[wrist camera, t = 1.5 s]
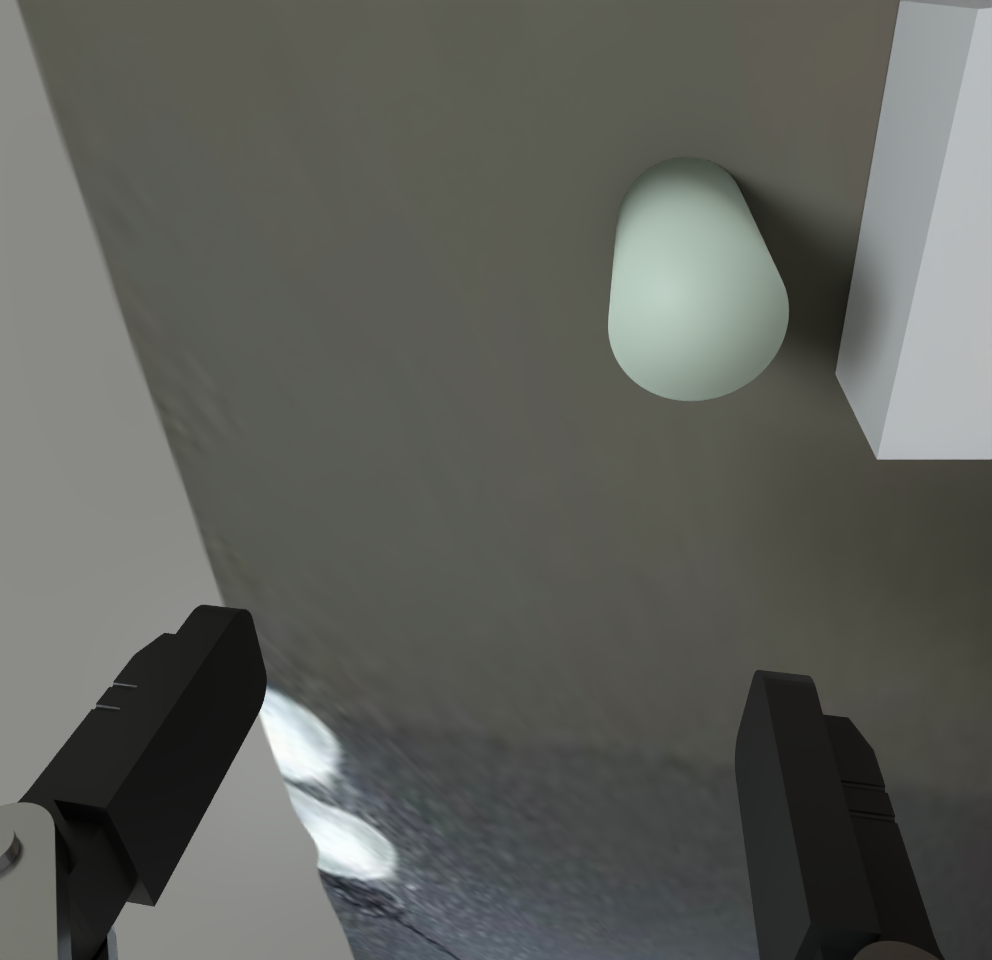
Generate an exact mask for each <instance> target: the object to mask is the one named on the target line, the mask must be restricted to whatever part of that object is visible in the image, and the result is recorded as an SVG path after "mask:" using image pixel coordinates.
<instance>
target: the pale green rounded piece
mask: <svg viewBox="0 0 992 960" xmlns="http://www.w3.org/2000/svg"><path fill="white" fill-rule="evenodd" d="M788 320H789V304H788V297H787V293H786V289H785V286H784V284H783V281H782V279H781V277H780V275H779V272H778V270H777V268H776V266H775V264H774V262H773V260H772V257H771V255H770V253H769V251H768V249H767V247H766V244H765V242H764V240H763V238H762V236H761V234H760V232H759V229H758V227H757V225H756V223H755V221H754V219H753V217H752V214H751V212H750V210H749V208H748V206H747V204H746V202H745V199H744V197H743V195H742V193H741V191H740V189H739V187H738V185H737V183H736V182H735V180H734V179H733V178H732V177H731V175H730V174H729V173H728V172H726V171H725V170H724V169H723V168H722V167H720V166H718V165H717V164H715V163H713V162H711V161H708V160H705V159H701V158H696V157H678V158H673V159H669V160H665V161H663V162H661V163H658V164H656V165H654V166H653V167H651V168H649V169H648V170H646V171H645V172H644V173H643V174H641V175H640V176H639V177H638V178H637V179H636V180H635V181H634V182H633V184H632V185H631V186H630V187H629V189H628V191H627V192H626V194H625V196H624V198H623V200H622V202H621V205H620V208H619V212H618V217H617V226H616V237H615V249H614V261H613V272H612V284H611V295H610V307H609V320H608V331H609V339H610V344H611V348H612V350H613V353H614V355H615V358H616V359H617V361H618V363H619V365H620V366H621V367H622V369H623V370H624V371H625V373H626V374H627V375H628V376H629V377H630V378H631V379H632V380H633V381H634V382H636V383H637V384H638V385H640V386H641V387H643V388H644V389H646V390H648V391H650V392H652V393H654V394H657V395H659V396H662V397H665V398H669V399H674V400H681V401H700V400H707V399H713V398H717V397H720V396H723V395H726V394H729V393H731V392H733V391H736V390H737V389H739V388H741V387H743V386H745V385H746V384H748V383H749V382H750V381H752V380H753V379H755V378H756V377H757V376H758V375H759V374H760V373H761V372H762V371H764V369H765V368H766V367H767V366H768V365H769V364H770V362H771V361H772V360H773V358H774V357H775V355H776V354H777V352H778V350H779V348H780V346H781V344H782V342H783V340H784V337H785V334H786V330H787V325H788Z"/></svg>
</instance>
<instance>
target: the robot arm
mask: <svg viewBox="0 0 992 960" xmlns="http://www.w3.org/2000/svg"><path fill="white" fill-rule="evenodd" d="M266 685H267V676H266V670H265V666H264V662H263V658H262V654H261V650H260V646H259V642H258V638H257V634H256V630H255V626H254V622H253V618H252V616H251V614H250V612H249V611H248V610H246V609H237V608H228V607H219V606H210V605H200V606H198V607H197V608H195V609H194V610H193V612H192V613H191V614H190V616H189V617H188V618H187V619H186V621H185V623H184V624H183V625H182V626H181V628H180V629H179V630H178V632H177V633H176V634H169V633H164V634H162V635H161V636H159V637H158V638H157V639H155V640H154V641H153V642H151V643H150V644H149V645H147V646H146V647H144V648H143V649H142V650H140V651H139V652H137V653H136V654H135V655H134V656H133V657H132V658H131V660H130V661H129V662H128V664H127V665H126V666H125V668H124V669H123V670H122V671H121V673H120V674H119V675H118V676H117V678H116V679H115V680H114V684H113V686H112V687H109V688H108V689H107V690H106V692H105V693H104V695H103V696H102V697H101V698H100V699H99V701H98V702H97V703H96V708H95V709H92V710H91V711H90V712H89V713H88V715H87V716H86V718H85V719H84V720H83V721H82V723H81V724H80V725H79V726H78V728H77V729H76V730H75V731H74V733H73V734H72V735H71V737H70V738H69V739H68V740H67V742H66V743H65V744H64V746H63V747H62V748H61V749H60V751H59V752H58V753H57V754H56V756H55V757H54V758H53V760H52V761H51V762H50V763H49V765H48V766H47V767H46V768H45V770H44V771H43V772H42V774H41V775H40V776H39V778H38V779H37V780H36V781H35V783H34V784H33V785H32V787H31V788H30V789H29V790H28V791H27V793H26V794H25V795H24V796H23V797H22V798H21V799H20V800H19V801H18V802H17V803H12V804H7V805H3V806H0V960H118V954H117V942H116V933H115V928H114V926H113V924H114V922H115V920H116V919H117V917H118V915H119V913H120V911H121V910H122V908H123V906H124V905H125V903H126V902H132V903H137V904H143V905H149V906H155V905H156V903H157V901H158V899H159V897H160V895H161V894H162V892H163V890H164V888H165V886H166V884H167V882H168V881H169V879H170V876H171V875H172V873H173V871H174V870H175V868H176V866H177V864H178V862H179V860H180V858H181V857H182V855H183V853H184V851H185V849H186V847H187V845H188V843H189V842H190V840H191V838H192V836H193V834H194V832H195V831H196V829H197V827H198V825H199V823H200V821H201V819H202V818H203V816H204V814H205V812H206V810H207V808H208V806H209V805H210V803H211V801H212V799H213V797H214V795H215V793H216V792H217V790H218V788H219V786H220V784H221V782H222V780H223V778H224V777H225V775H226V773H227V771H228V769H229V767H230V765H231V763H232V762H233V760H234V758H235V756H236V754H237V752H238V751H239V749H240V747H241V745H242V743H243V741H244V739H245V738H246V736H247V734H248V732H249V730H250V728H251V726H252V725H253V723H254V721H255V719H256V717H257V715H258V713H259V711H260V709H261V707H262V704H263V701H264V697H265V693H266ZM735 772H736V782H737V790H738V797H739V805H740V813H741V820H742V828H743V835H744V843H745V850H746V858H747V866H748V873H749V881H750V888H751V896H752V904H753V911H754V919H755V926H756V934H757V941H758V949H759V957H760V960H945V959H944V957H943V956H942V954H941V952H940V950H939V948H938V945H937V943H936V940H935V938H934V935H933V932H932V929H931V926H930V922H929V919H928V916H927V913H926V910H925V907H924V904H923V901H922V898H921V895H920V892H919V889H918V885H917V882H916V879H915V876H914V873H913V870H912V867H911V864H910V861H909V858H908V855H907V851H906V848H905V845H904V842H903V839H902V836H901V833H900V830H899V827H898V824H897V823H895V820H894V817H895V814H894V811H893V808H892V805H891V802H890V799H889V796H888V793H885V784H884V780H883V777H882V774H881V771H880V768H879V765H878V762H877V759H876V756H875V753H874V750H873V749H872V747H871V746H870V745H869V744H868V742H867V741H866V740H865V738H864V737H863V736H862V735H861V733H860V732H859V731H858V729H857V728H856V727H855V726H854V724H853V723H852V722H851V720H850V719H849V718H847V717H838V716H830V715H823V713H822V709H821V705H820V702H819V698H818V694H817V691H816V687H815V684H814V681H813V679H812V678H811V677H810V676H806V675H798V674H789V673H780V672H771V671H763V670H757V671H756V672H755V674H754V676H753V679H752V683H751V687H750V690H749V694H748V698H747V701H746V705H745V709H744V713H743V716H742V720H741V724H740V727H739V731H738V735H737V741H736V750H735Z"/></svg>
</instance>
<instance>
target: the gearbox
mask: <svg viewBox="0 0 992 960" xmlns="http://www.w3.org/2000/svg"><path fill="white" fill-rule="evenodd" d="M835 375H836V377H837V379H838V381H839V383H840V385H841V387H842V389H843V391H844V393H845V395H846V397H847V399H848V401H849V403H850V405H851V408H852V410H853V412H854V414H855V416H856V418H857V420H858V422H859V424H860V426H861V428H862V430H863V432H864V434H865V436H866V438H867V440H868V442H869V444H870V446H871V448H872V450H873V452H874V455H875V457H876V459H992V0H902V1H900V4H899V10H898V16H897V22H896V27H895V33H894V39H893V45H892V50H891V56H890V62H889V68H888V73H887V79H886V85H885V91H884V96H883V102H882V108H881V114H880V119H879V125H878V131H877V137H876V142H875V148H874V154H873V160H872V166H871V171H870V177H869V183H868V189H867V194H866V200H865V206H864V212H863V217H862V223H861V229H860V235H859V240H858V246H857V252H856V258H855V263H854V269H853V275H852V281H851V286H850V292H849V298H848V304H847V309H846V315H845V321H844V327H843V332H842V338H841V344H840V350H839V355H838V361H837V367H836V373H835Z"/></svg>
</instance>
